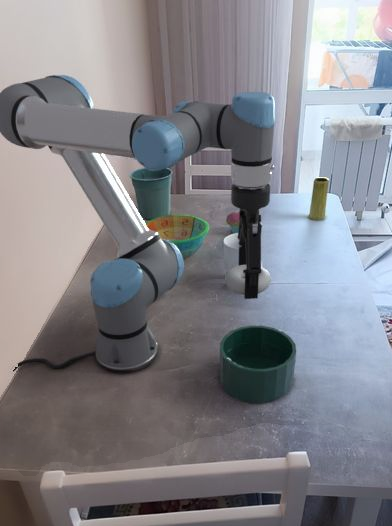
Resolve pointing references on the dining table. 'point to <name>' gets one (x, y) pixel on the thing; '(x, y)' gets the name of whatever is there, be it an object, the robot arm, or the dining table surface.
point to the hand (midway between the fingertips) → (247, 285)
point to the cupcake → (233, 221)
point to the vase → (319, 199)
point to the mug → (231, 252)
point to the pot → (257, 363)
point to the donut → (237, 280)
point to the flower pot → (152, 192)
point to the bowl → (181, 231)
